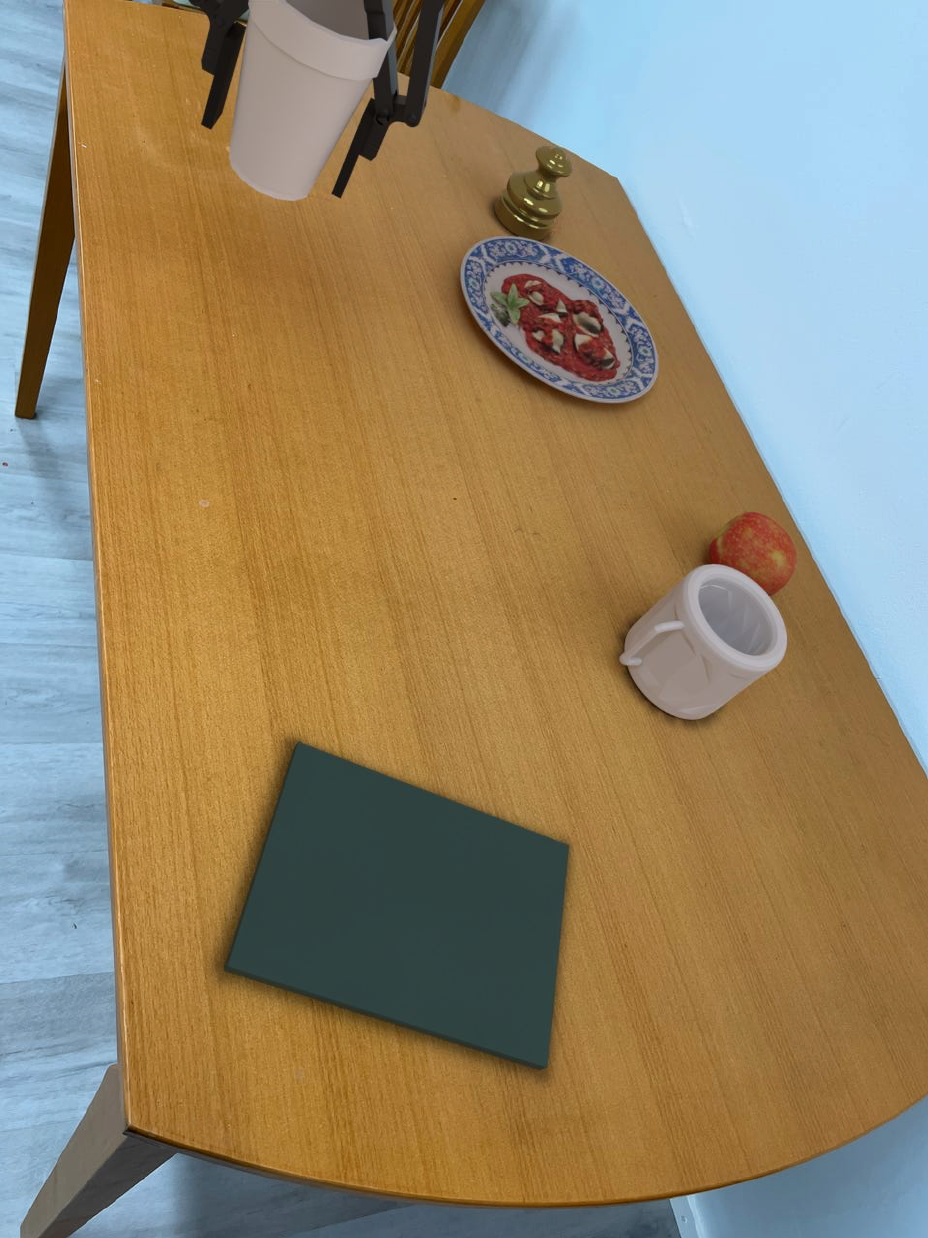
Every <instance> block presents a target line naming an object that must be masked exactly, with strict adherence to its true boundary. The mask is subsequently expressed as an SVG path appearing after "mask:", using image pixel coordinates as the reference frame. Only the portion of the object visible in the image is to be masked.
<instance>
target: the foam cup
mask: <svg viewBox="0 0 928 1238" xmlns="http://www.w3.org/2000/svg"><path fill="white" fill-rule="evenodd" d="M248 5H249V9H248V16H247V23H246V27H247V28H246V31H245V35H244V42H243V43H244V44H243V50H242V58H241V64H240V71H239V79H238V85H237V91H236V92H237V94H236V100H235V106H234V113H233V121H232V127H231V134H230V140H229V141H230V142H229V152H228V157H229V163H230V168H231V169H232V170H233V172H234V173H235V174H236V175H237V176H238V177H239V179H240V180H241V181H242V182H244V183H245V184H246V185H248V186H249V187H251V188H252V189H253V190H255V191H257V192H258V193H261V194H263V195H265V196H268V197H270V198H273V199H275V200H281V201H282V200H283V201H290V202H291V201H292V202H296V201H299V200H302V199H305V198H308V196H309V194H310V193H311V191H312V189H313V187H314V186H315V184H316V182H317V180H318V178H319V177H320V175H321V173H322V171H323V169H324V168H325V166H326V164H327V162H328V160H329V159H330V157H331V155H332V153H333V151H335V148H336V146H337V145H338V143H339V141H340V139H341V137H342V136H343V133H345V130H346V128H347V126H348V124H349V123H350V121H351V119H352V118H353V116H354V114H355V112H356V110H357V109H358V106H359V105H360V103H361V101H362V100H363V98H364V96H365V94H366V92H367V91H368V89H369V87H370V85H371V83H372V82H373V78H375V77H377V75H378V73H379V70H380V68H381V65H382V63H383V60H384V58H385V55H386V53H387V50H388V49H389V47H390V46H391V44H392V42H393V41H394V39H395V40H396V36H397V34H398V29H397V26H396V23H395V19H393V21H394V29H393V31H392V33H391V35H390V37H389V39H388V41H385V40H383V39H382V38H378V39H371V40H369V35H368V24H367V14H366V12H365V10H364V2H363V0H249V2H248Z"/></svg>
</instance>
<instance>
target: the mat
mask: <svg viewBox="0 0 928 1238" xmlns="http://www.w3.org/2000/svg"><path fill="white" fill-rule="evenodd" d="M276 800H277V801H276V804H275V807H274V810H273V813H272V815H271V820H270V823H269V826H268V829H267V832H266V834H265V839H264V840H263V841H264V842H263V845H262V847H261V851H260V854H259V857H258V861H257V863H256V867H255V870H254V873H253V876H252V879H251V883H250V885H249V889H248V892H247V894H246V898H245V901H244V904H243V907H242V911H241V914H240V917H239V920H238V923H237V926H236V928H235V929H236V930H235V933H234V936H233V939H232V942H231V946H230V948H229V951H228V954H227V958H226V961H225V964H224V968H223V971H225V972H228V973H230V974H234V975H238V976H240V977H243V978H247V979H250V980H253V981H256V982H259V983H262V984H266V985H269V986H272V987H275V988H278V989H281V990H285V991H288V992H291V993H293V994H296V995H300V996H304V997H306V998H310V999H314V1000H316V1001H318V1002H319V1001H320V1002H323V1003H325V1004H329V1005H332V1006H335V1007H339V1008H341V1009H344V1010H348V1011H351V1012H354V1013H357V1014H360V1015H364V1016H367V1017H369V1018H374V1019H376V1020H379V1021H383V1022H386V1023H389V1024H392V1025H395V1026H398V1027H402V1028H405V1029H408V1030H412V1031H414V1032H417V1033H421V1034H424V1035H427V1036H431V1037H434V1038H436V1039H439V1040H443V1041H446V1042H449V1043H453V1044H455V1045H459V1046H462V1047H465V1048H469V1049H471V1050H474V1051H478V1052H481V1053H484V1054H488V1055H490V1056H494V1057H497V1058H500V1059H503V1060H507V1061H510V1062H513V1063H516V1064H520V1065H523V1066H525V1067H529V1068H532V1069H534V1070H538V1071H542V1070H544V1069H547V1068H548V1066H549V1065H548V1064H549V1055H550V1046H551V1045H550V1044H551V1034H552V1026H553V1025H552V1024H553V1015H554V1005H555V1003H554V1002H555V996H556V995H555V994H556V983H557V975H558V963H559V954H560V943H561V934H562V923H563V913H564V903H565V893H566V892H565V891H566V882H567V873H568V864H569V853H570V845H569V844H566V843H564V842H561V841H559V840H556V839H553V838H551V837H549V836H546V835H543V834H541V833H539V832H538V833H537V832H535V831H533V830H530V829H527V828H525V827H522V826H520V825H517V824H515V823H512V822H510V821H507V820H505V819H502V818H498V817H496V816H493V815H491V814H488V813H486V812H483V811H481V810H478V809H475V808H473V807H470V806H468V805H465V804H462V803H460V802H457V801H455V800H452V799H449V798H446V797H445V796H441V795H438V794H436V793H433V792H431V791H429V790H426V789H423V788H421V787H418V786H415V785H413V784H411V783H407V782H405V781H403V780H400V779H397V778H395V777H392V776H389V775H386V774H384V773H382V772H379V771H376V770H374V769H371V768H369V767H365V766H363V765H360V764H358V763H355V762H353V761H350V760H348V759H346V758H343V757H339V756H338V755H335V754H332V753H329V752H327V751H324V750H322V749H320V748H317V747H314V746H311V745H308V744H306V743H304V742H301V741H298V742H297V743H296V745H294V747H293V750H292V753H291V757H290V760H289V762H288V766H287V770H286V772H285V776H284V779H283V782H282V785H281V788H280V791H279V794H278V797H277V799H276Z"/></svg>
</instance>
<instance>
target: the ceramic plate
mask: <svg viewBox="0 0 928 1238" xmlns="http://www.w3.org/2000/svg"><path fill="white" fill-rule="evenodd" d="M459 277H460V279H459V280H460V286H461V291H462V293H463V298H464V300H465V302H466V305H467V308H468V309H469V311H470V313H471V315H472V316H473V318H474V320H475V321H476V323H477V324H478V326H479V327H480V328H481V330H482V331H483V333H485V334H486V336H487V337H488V338H489V339H490V340H491V341H492V343H493V344H494V345H495V346H496V347H497V348H498V349H499V350H500V351H501V352H502V353H503V354H504V355H505V356H507V357H508V358H509V359H510V360H511V361H512V362H513V363H514V364H516V365H517V366H519V367H520V368H522V369H523V370H524V371H526V372H527V373H528V374H530V375H531V376H532V377H534V378H536V379H538V380H540V381H541V382H543V383H545V384H546V385H548V386H550V387H551V388H553V389H556V390H558V391H561V392H563V393H565V394H567V395H570V396H573V397H575V398H579V399H582V400H587V401H589V402H596V403H603V404H604V403H605V404H623V403H628V402H631V401H634V400H637V399H639V398H641V397H642V396H644V395H645V394H647V393H648V392H649V391H650V390H651V389H652V388H653V386H654V384H655V382H656V381H657V377H658V373H659V363H660V362H659V353H658V350H657V346H656V343H655V340H654V338H653V336H652V334H651V332H650V329H649V327H648V325H647V324H646V322H645V320H644V319H643V318H642V316H641V315H640V313H639V311H638V310H637V309H636V308H635V306H634V305H633V304H632V303H631V302H630V301H629V300H628V298H627V297H626V296H625V295H624V293H622V292H621V291H620V290H619V289H618V288H617V287H616V286H615V285H614V284H613V283H612V282H611V281H609V280H608V279H607V278H606V277H604V275H602V274H601V273H600V272H598V271H597V270H596V269H594V268H592V267H591V266H589V265H588V264H587V263H585V262H584V261H582V260H580V259H579V258H577V257H575V256H573V255H572V254H569V253H568V252H565V251H564V250H562V249H560V248H559V247H556V246H553V245H550V244H547V243H544V242H541V241H539V240H531V239H527V238H522V237H520V236H513V235H512V236H511V235H510V236H508V235H503V236H501V235H499V236H497V235H496V236H492V237H488V238H485V239H482V240H480V241H478V242H476V243H475V244H474V245H472V246H471V247H470V248H469V249H468V251H466V253H465V255H464V257H463V260H462V262H461V266H460V272H459Z"/></svg>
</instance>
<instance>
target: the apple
mask: <svg viewBox="0 0 928 1238" xmlns="http://www.w3.org/2000/svg"><path fill="white" fill-rule="evenodd" d="M796 551H797V550H796V547H795V545H794V541H793V540H792V538H791V537H790V535H789V534H788V532H787V531H786V530H785V528H783V527H782V526H781V525H780V524H779V523H778V522H777V521H776V520H775V519H773V518H772V517H770V516H768V515H766V514H764V513H760V512H757V511H745V512H742V513H740V514H739V515H737V516H734V517H733V518H731V520H728V522H727V523H726V524H724V526H722V527H721V529H720V530H719V531H718V533H717V534H716V535H715V537H714V538H713V539H712V540H711V541H710V543H709V546H708V551H707V553H708V554H707V555H708V561H709V563H710V564H718V565H724V566H727V567H730V568H733V569H735V570H738V571H739V572H741V573H743V574H745V575H746V576H748V577H749V578H751V579H752V580H753V581H754V582H756V583H757V584H758V585H759V586H760V587H761V588H762V589H763V590H764V591H765V592H766V593H767V595H768V596H769V597H772V596H774V595H776V594H777V593H778V592H779V591H781V590H782V589H783V588H785V586H786V585H787V584H788V583H789V582H790V580H791V579H792V577H793V575H794V572H795V570H796V565H797V552H796Z"/></svg>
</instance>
